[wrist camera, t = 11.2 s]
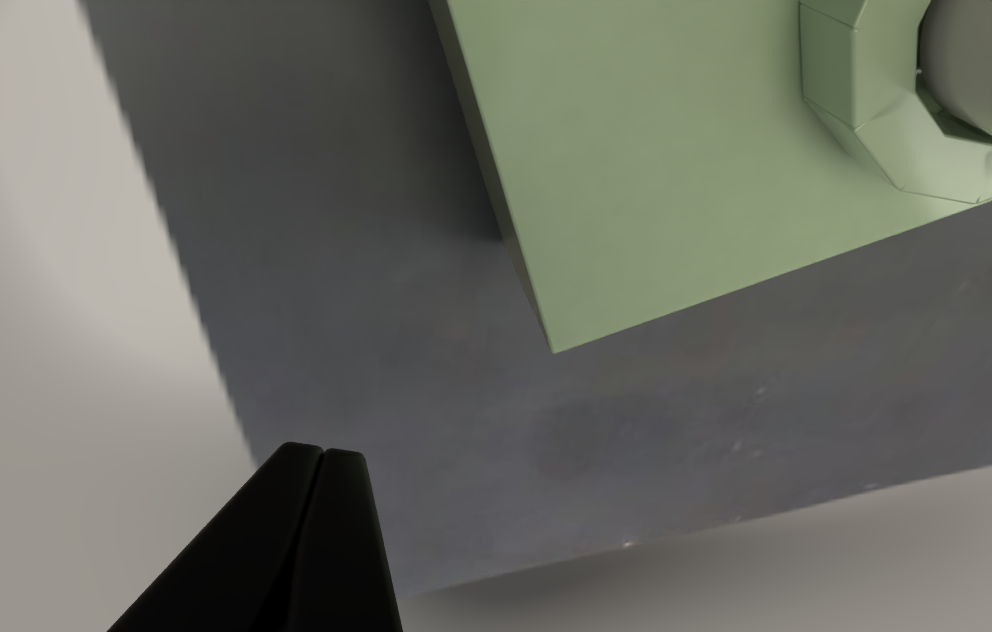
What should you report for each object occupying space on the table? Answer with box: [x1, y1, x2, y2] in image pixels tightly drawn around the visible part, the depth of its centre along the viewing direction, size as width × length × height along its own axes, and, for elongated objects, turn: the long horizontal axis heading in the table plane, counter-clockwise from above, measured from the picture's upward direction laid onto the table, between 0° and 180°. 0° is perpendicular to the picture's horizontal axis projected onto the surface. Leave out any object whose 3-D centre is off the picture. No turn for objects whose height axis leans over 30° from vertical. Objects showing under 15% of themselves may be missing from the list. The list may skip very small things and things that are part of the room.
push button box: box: [428, 0, 992, 354], centre depth 17 cm, size 13×10×7 cm
